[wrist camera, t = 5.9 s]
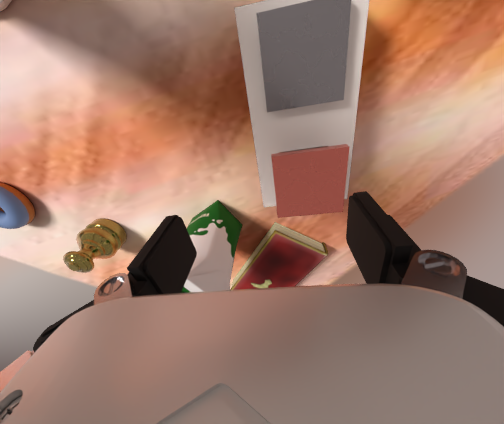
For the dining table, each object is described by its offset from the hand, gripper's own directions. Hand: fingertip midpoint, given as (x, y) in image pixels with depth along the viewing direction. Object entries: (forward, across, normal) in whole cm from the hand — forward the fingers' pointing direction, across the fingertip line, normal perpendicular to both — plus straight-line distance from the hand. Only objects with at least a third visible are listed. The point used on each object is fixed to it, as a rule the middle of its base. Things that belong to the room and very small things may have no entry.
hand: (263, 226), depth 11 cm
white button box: (+23, -4, -2) cm, 23 cm away
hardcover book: (+24, +3, +28) cm, 37 cm away
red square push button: (+19, -4, +4) cm, 20 cm away
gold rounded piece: (+23, +36, +14) cm, 45 cm away
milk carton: (+23, +12, +15) cm, 30 cm away
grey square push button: (+22, -5, -8) cm, 24 cm away
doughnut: (+23, +52, +4) cm, 57 cm away
